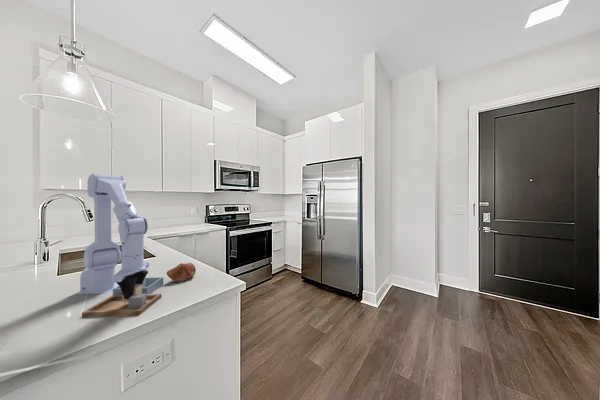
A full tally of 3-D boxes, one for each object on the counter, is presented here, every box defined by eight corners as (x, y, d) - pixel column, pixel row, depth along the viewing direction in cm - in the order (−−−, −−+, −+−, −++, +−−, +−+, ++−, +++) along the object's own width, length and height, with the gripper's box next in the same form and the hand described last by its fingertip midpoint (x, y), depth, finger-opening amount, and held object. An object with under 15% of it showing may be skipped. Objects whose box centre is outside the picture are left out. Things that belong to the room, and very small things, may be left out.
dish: (112, 298, 78) (112, 288, 78) (133, 286, 89) (134, 277, 89) (146, 298, 79) (146, 288, 79) (163, 285, 90) (163, 277, 90)
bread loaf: (167, 278, 88) (173, 254, 94) (158, 283, 93) (165, 260, 99) (198, 282, 96) (202, 260, 102) (189, 287, 101) (193, 265, 107)
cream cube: (122, 302, 71) (122, 287, 71) (129, 297, 74) (129, 284, 74) (135, 301, 71) (136, 287, 71) (141, 297, 75) (142, 284, 75)
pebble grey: (128, 294, 81) (128, 281, 81) (134, 290, 84) (134, 278, 84) (140, 293, 81) (140, 281, 81) (145, 290, 84) (145, 278, 84)
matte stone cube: (128, 311, 68) (128, 298, 68) (133, 307, 71) (133, 294, 71) (141, 310, 69) (142, 297, 69) (146, 305, 72) (146, 293, 72)
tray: (81, 318, 65) (81, 312, 65) (112, 300, 77) (112, 295, 77) (139, 316, 66) (140, 310, 66) (161, 298, 78) (161, 293, 78)
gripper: (131, 260, 66) (130, 306, 66) (157, 249, 80) (157, 287, 80) (105, 260, 65) (104, 307, 65) (137, 249, 80) (136, 287, 80)
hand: (132, 296), depth 73 cm, fingers closed on cream cube, 3 cm apart
